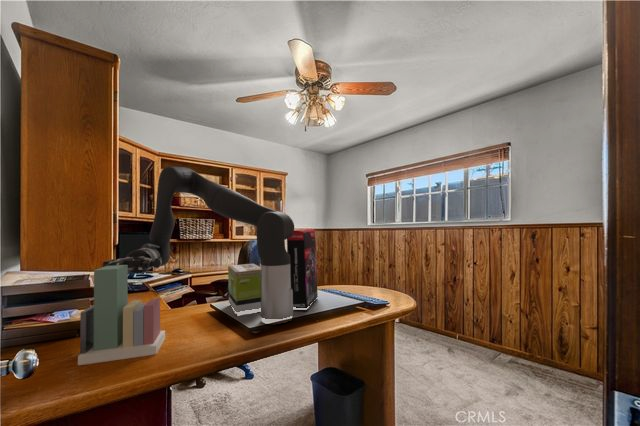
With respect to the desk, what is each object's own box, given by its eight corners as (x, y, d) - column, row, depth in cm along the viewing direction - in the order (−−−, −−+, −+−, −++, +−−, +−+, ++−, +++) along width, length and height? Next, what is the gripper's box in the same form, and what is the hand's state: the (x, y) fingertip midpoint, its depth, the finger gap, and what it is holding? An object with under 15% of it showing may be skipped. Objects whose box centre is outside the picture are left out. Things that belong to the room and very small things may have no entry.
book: (127, 336, 72) (127, 264, 73) (117, 347, 66) (117, 268, 66) (106, 339, 71) (106, 265, 72) (93, 350, 64) (94, 270, 65)
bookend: (100, 339, 71) (101, 302, 71) (85, 353, 63) (85, 312, 64) (96, 340, 71) (96, 303, 71) (80, 354, 63) (80, 312, 63)
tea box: (227, 305, 105) (227, 265, 106) (255, 301, 110) (254, 262, 110) (236, 317, 92) (235, 270, 92) (266, 312, 96) (266, 268, 97)
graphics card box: (307, 312, 95) (305, 230, 96) (287, 311, 96) (285, 230, 97) (318, 298, 112) (316, 228, 113) (300, 298, 113) (299, 229, 114)
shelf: (165, 338, 76) (165, 296, 76) (156, 354, 66) (156, 306, 67) (97, 346, 71) (98, 302, 72) (77, 365, 62) (78, 313, 62)
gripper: (117, 249, 92) (94, 254, 76) (166, 247, 96) (155, 252, 81) (116, 273, 92) (94, 283, 76) (166, 270, 96) (155, 279, 81)
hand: (125, 267), depth 79 cm, fingers open, 8 cm apart
